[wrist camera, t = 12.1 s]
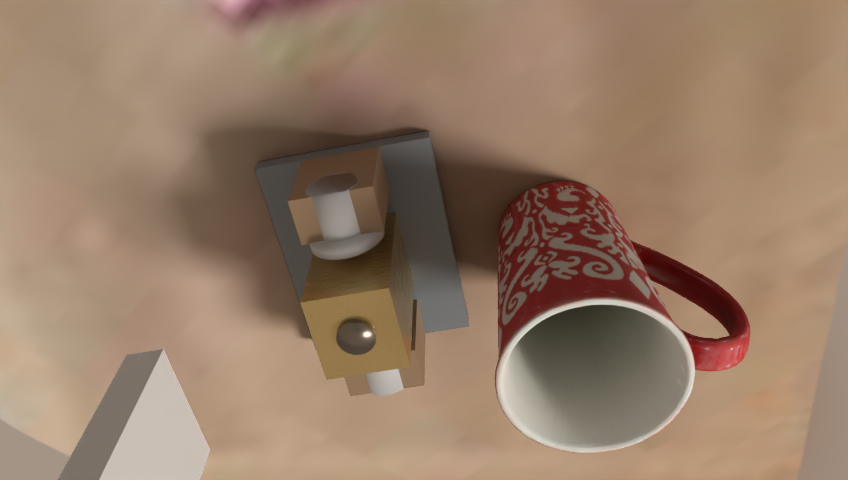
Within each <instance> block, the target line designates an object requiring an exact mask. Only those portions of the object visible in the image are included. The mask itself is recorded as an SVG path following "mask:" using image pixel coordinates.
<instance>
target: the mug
mask: <svg viewBox="0 0 848 480" xmlns="http://www.w3.org/2000/svg"><path fill="white" fill-rule="evenodd" d="M497 257H498V347H499V360H498V363H497V367H496V372H495V388H496V394H497V398H498V401H499V404H500V406H501V408H502V410H503V412H504V414H505V415H506V417H507V418H508V419H509V421H510V422H511V423H512V424H513V425H514V426H515V427H516V428H517V429H518V430H519V431H520V432H522V433H523V434H524V435H526V436H527V437H529V438H530V439H532V440H534V441H536V442H538V443H540V444H542V445H545V446H548V447H551V448H554V449H557V450H562V451H567V452H574V453H598V452H607V451H613V450H617V449H621V448H625V447H628V446H631V445H634V444H637V443H639V442H641V441H644V440H646V439H648V438H649V437H651V436H653V435H654V434H656V433H658V432H659V431H661V430H662V429H663V428H664V427H666V426H667V425H668V424H669V423H670V422H671V421H672V420H673V419H674V418H675V417H676V416H677V415H678V413H679V412H680V411H681V410H682V408H683V407H684V405H685V403H686V402H687V400H688V398H689V396H690V393H691V391H692V388H693V385H694V377H695V370H700V371H720V370H725V369H729V368H732V367H734V366H736V365H737V364H738V363H740V362H741V361H742V360H743V358H744V356H745V355H746V353H747V350H748V346H749V340H750V325H749V322H748V319H747V316H746V314H745V312H744V310H743V309H742V307H741V306H740V304H739V303H738V302H737V301H736V300H735V299H734V298H733V297H732V296H731V295H730V294H729V293H728V292H727V291H725V290H724V289H723V288H722V287H720V286H719V285H718V284H716V283H715V282H713V281H712V280H710V279H709V278H707V277H705V276H704V275H702V274H700V273H698V272H697V271H695V270H693V269H692V268H690V267H688V266H686V265H684V264H682V263H680V262H678V261H676V260H674V259H672V258H670V257H668V256H666V255H663V254H661V253H659V252H657V251H655V250H652V249H650V248H647V247H645V246H642V245H640V244H637V243H635V242H633V241H631V240H630V239H629V237H628V236H627V234H626V232H625V230H624V228H623V226H622V224H621V222H620V220H619V218H618V216H617V214H616V212H615V210H614V208H613V207H612V205H611V204H610V203H609V201H608V200H607V199H606V198H605V197H604V196H603V195H601V194H600V193H599V192H597V191H596V190H594V189H592V188H590V187H588V186H585V185H583V184H579V183H574V182H567V181H556V182H550V183H546V184H542V185H539V186H536V187H534V188H531V189H530V190H528V191H526V192H525V193H523V194H521V195H520V196H519V197H517V198H516V199H515V200H514V202H512V203H511V204H510V206H509V207H508V208H507V210H506V211H505V213H504V215H503V217H502V219H501V222H500V224H499V229H498V235H497ZM651 280H652V281H654V282H656V283H658V284H661V285H663V286H665V287H667V288H668V289H670V290H672V291H674V292H676V293H677V294H679V295H681V296H682V297H684V298H686V299H688V300H689V301H691V302H693V303H695V304H696V305H698V306H700V307H701V308H703V309H704V310H705V311H707V312H708V313H709V314H711V315H712V316H713V317H715V318H716V319H717V320H718V321H719V322H720V323H721V324H722V325H723V326H724V327H725V328H726V330H727V331H728V333H729V334H730V336H727V337H722V338H719V339H713V338H702V337H698V336H694V335H691V334H689V333H687V332H685V331H683V330H681V329H680V328H679V327H678V326H677V325H676V324H675V323H674V322H673V321H672V319H671V317H670V315H669V314H668V312H667V309H666V307H665V305H664V303H663V301H662V300H661V298H660V296H659V294H658V292H657V290H656V289H655V287H654V285H653V283H652V281H651Z"/></svg>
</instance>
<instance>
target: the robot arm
mask: <svg viewBox="0 0 848 480" xmlns="http://www.w3.org/2000/svg"><path fill="white" fill-rule="evenodd" d="M209 452H210V449H209V447H208V445H207V442H206V440H205V438H204V436H203V434H202V432H201V429H200V427H199V425H198V423H197V421H196V419H195V416H194V414H193V412H192V410H191V408H190V406H189V403H188V401H187V399H186V397H185V395H184V393H183V391H182V388H181V386H180V384H179V382H178V380H177V378H176V375H175V373H174V371H173V369H172V367H171V365H170V362H169V360H168V358H167V356H166V354H165V352H164V349H161V350H155V351H149V352H142V353H136V354H130V355H126V357H125V359H124V361H123V363H122V364H121V366H120V368H119V370H118V372H117V373H116V375H115V377H114V379H113V381H112V383H111V384H110V386H109V388H108V390H107V392H106V393H105V395H104V397H103V399H102V401H101V402H100V404H99V406H98V408H97V410H96V411H95V413H94V415H93V417H92V419H91V421H90V422H89V424H88V426H87V428H86V430H85V431H84V433H83V435H82V437H81V439H80V440H79V442H78V444H77V446H76V448H75V449H74V451H73V453H72V455H71V457H70V459H69V461H68V462H67V464H66V466H65V468H64V469H63V471H62V473H61V475H60V477H59V478H58V480H200V478H201V475H202V472H203V469H204V467H205V464H206V461H207V458H208V455H209Z"/></svg>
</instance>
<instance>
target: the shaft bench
mask: <svg viewBox="0 0 848 480" xmlns="http://www.w3.org/2000/svg"><path fill="white" fill-rule="evenodd" d="M254 170H255V173H256V175H257V178H258V181H259V184H260V187H261V190H262V193H263V196H264V199H265V202H266V205H267V208H268V211H269V214H270V217H271V220H272V223H273V226H274V228H275V231H276V234H277V237H278V240H279V243H280V246H281V249H282V252H283V255H284V258H285V261H286V264H287V267H288V270H289V273H290V276H291V279H292V281H293V284H294V287H295V290H296V293H297V296H298V299H299V302H300V301H301V298H302V294H303V290H304V286H305V283H306V279H307V275H308V271H309V268H310V264H311V260H312V256H313V254H314V255H315V256H317V257H319V258H322V259H327V260H339V259H347V258H351V257H355V256H358V255H360V254H362V253H364V252H366V251H368V250H370V249H372V248H373V247H375V246H376V245H377V244H378V243H379V242H380V241H381V240H382V238H383V236H384V230H385V221H386V213H391V212H396V214H397V218H398V222H399V226H400V230H401V234H402V238H403V242H404V245H405V249H406V253H407V257H408V261H409V265H410V269H411V273H412V277H413V281H414V291H413V314H412V337H411V359H410V367H406V368H400V369H393V370H387V371H380V372H373V373H367V374H360V375H354V376H347V377H344V378H345V381H346V384H347V387H348V390H349V393H350V396H354V395H361V394H368V393H372V394H374V395H379V396H385V395H391V394H394V393H396V392H399V391H400V390H402V389H403V388H409V387H416V386H422V385H424V375H425V333H429V332H435V331H442V330H448V329H455V328H461V327H468V326H469V321H468V313H467V309H466V304H465V299H464V295H463V290H462V285H461V280H460V276H459V271H458V266H457V261H456V257H455V252H454V247H453V242H452V238H451V233H450V228H449V223H448V219H447V214H446V209H445V204H444V200H443V195H442V190H441V186H440V181H439V176H438V171H437V167H436V162H435V157H434V152H433V148H432V143H431V138H430V133H429V131H424V132H419V133H413V134H408V135H403V136H397V137H392V138H386V139H381V140H375V141H370V142H364V143H359V144H354V145H348V146H343V147H337V148H332V149H326V150H321V151H315V152H310V153H305V154H299V155H294V156H288V157H283V158H277V159H272V160H267V161H261V162H258V163H257V165H256V167H255V169H254ZM300 305H301V304H300ZM301 308H302V307H301ZM302 311H303V309H302ZM303 314H304V312H303ZM304 317H305V315H304ZM305 320H306V318H305ZM306 323H307V321H306ZM307 326H308V324H307ZM308 329H309V327H308ZM309 332H310V330H309ZM310 334H311V333H310ZM311 337H312V336H311ZM312 340H313V339H312ZM313 343H314V341H313ZM314 346H315V344H314ZM315 349H316V347H315Z"/></svg>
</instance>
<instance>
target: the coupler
mask: <svg viewBox="0 0 848 480" xmlns="http://www.w3.org/2000/svg"><path fill="white" fill-rule="evenodd" d="M413 291H414V281H413V277H412V273H411V269H410V265H409V261H408V257H407V253H406V249H405V245H404V242H403V238H402V234H401V230H400V226H399V222H398V218H397V214H396V212H391V213H386V221H385V230H384V236H383V238H382V240H381V241H380V242H379V243H378V244H377V245H376V246H375V247H373V248H372V249H370V250H368V251H366V252H364V253H362V254H360V255H358V256H355V257H351V258H347V259H339V260H327V259H322V258H319V257H317V256H315V255H314V254H313V256H312V260H311V264H310V268H309V271H308V275H307V279H306V283H305V286H304V290H303V294H302V298H301V301H300V304H301V307H302V309H303V312H304V315H305V318H306V321H307V324H308V327H309V330H310V333H311V336H312V339H313V341H314V344H315V347H316V350H317V353H318V356H319V359H320V362H321V365H322V368H323V371H324V374H325V376H326V379H327V380H328V379H334V378H341V377H347V376H354V375H360V374H367V373H373V372H380V371H387V370H393V369H400V368H406V367H410V359H411V337H412V314H413Z"/></svg>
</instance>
